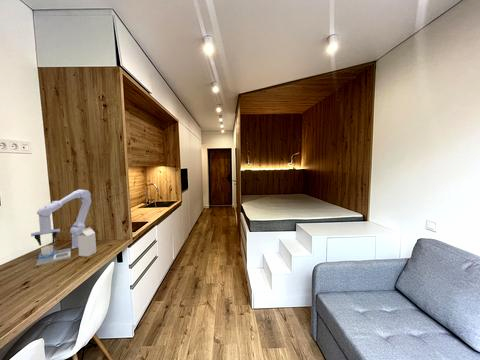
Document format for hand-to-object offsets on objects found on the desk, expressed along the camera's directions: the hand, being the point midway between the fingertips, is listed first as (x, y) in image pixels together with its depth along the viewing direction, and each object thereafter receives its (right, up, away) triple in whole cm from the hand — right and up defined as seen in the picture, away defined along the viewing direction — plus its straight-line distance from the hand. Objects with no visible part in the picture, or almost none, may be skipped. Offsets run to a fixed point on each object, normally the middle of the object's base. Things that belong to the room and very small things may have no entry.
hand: (46, 244), depth 145 cm
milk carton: (+27, -9, +3) cm, 28 cm away
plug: (0, -8, +1) cm, 8 cm away
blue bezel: (0, -8, +1) cm, 8 cm away
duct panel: (+6, -9, -1) cm, 11 cm away
